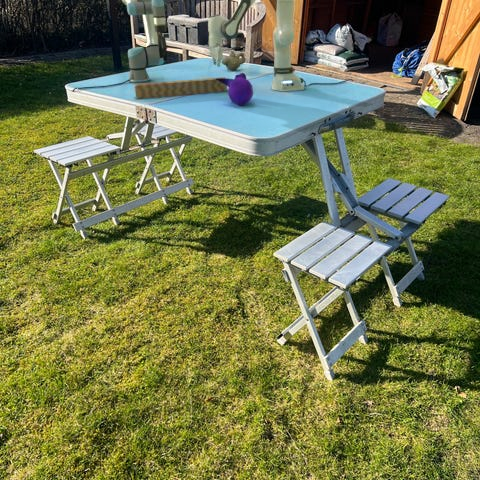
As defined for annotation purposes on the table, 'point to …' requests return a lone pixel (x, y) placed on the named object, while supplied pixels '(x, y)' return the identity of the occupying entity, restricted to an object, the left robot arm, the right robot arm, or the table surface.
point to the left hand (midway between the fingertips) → (163, 59)
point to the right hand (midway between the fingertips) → (216, 65)
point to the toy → (238, 89)
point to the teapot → (233, 61)
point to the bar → (179, 88)
